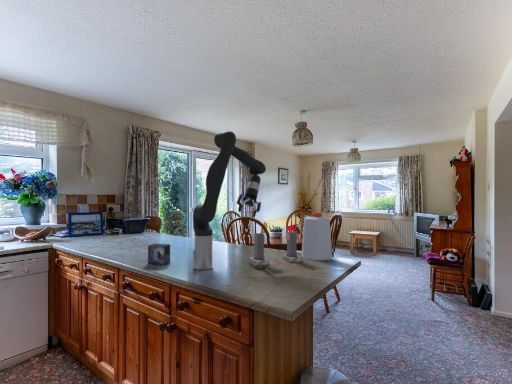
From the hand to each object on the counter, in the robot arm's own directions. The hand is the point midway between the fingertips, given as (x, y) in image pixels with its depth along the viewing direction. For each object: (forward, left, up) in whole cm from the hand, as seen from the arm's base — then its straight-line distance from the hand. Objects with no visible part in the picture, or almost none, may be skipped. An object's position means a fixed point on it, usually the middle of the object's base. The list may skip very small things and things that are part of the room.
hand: (246, 214), depth 159 cm
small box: (-45, -19, -28) cm, 56 cm away
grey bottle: (+37, +21, -28) cm, 51 cm away
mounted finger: (+25, +7, -26) cm, 37 cm away
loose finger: (+10, -6, -26) cm, 28 cm away
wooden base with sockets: (+17, +1, -27) cm, 32 cm away
